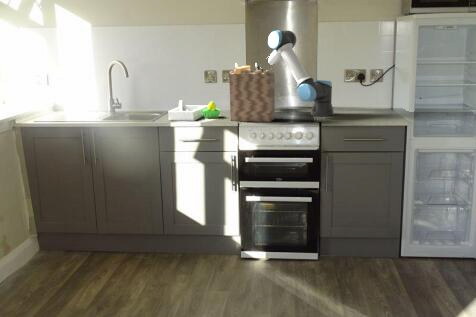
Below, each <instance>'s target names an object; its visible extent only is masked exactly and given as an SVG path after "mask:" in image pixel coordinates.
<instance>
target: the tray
mask: <svg viewBox="0 0 476 317" xmlns="http://www.w3.org/2000/svg"><path fill="white" fill-rule="evenodd" d="M185 105H186V104H185ZM182 107H183V106H182ZM186 108H187V109H188V110H189V111H184V109H183V111H180V110H179V107H176V108H173V109H171V110H168V111H167V112H168V114H167V115H168V121H175V122H176V121H179V122H181V121H182V122H183V121H185V122H194V121H196V120H197V121H198V119H201V118H204V115H203V112H202V110H206V109H208V105H188V104H187V105H186Z"/></svg>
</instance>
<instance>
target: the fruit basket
mask: <svg viewBox="0 0 476 317" xmlns="http://www.w3.org/2000/svg"><path fill="white" fill-rule="evenodd" d="M202 112H203V115H204V116H203V118H204V119H214V118H215V119H217V118H219V116H220V112H221V110H220V109H219V108H217V105H216V103H215V101H213V100H212V101H210V102H209V103H208V105H207V109H206V110H202Z"/></svg>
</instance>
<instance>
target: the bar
mask: <svg viewBox="0 0 476 317" xmlns="http://www.w3.org/2000/svg"><path fill="white" fill-rule="evenodd" d="M238 67H239V66H238ZM234 68H235V67H234ZM245 70H249V71H250V70H251V65H243V66H240V67H239V68H235V74H242V71H245Z"/></svg>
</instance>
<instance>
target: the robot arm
mask: <svg viewBox="0 0 476 317" xmlns="http://www.w3.org/2000/svg"><path fill="white" fill-rule="evenodd" d="M296 44H297V36H296V34H295V33H294V32H293V31H291V30H273V31H271V33H270V34H269V35H268V40H267V45H268V47H269V48H271V49H273V51H272V52H271V53H270V54H269V55H270V56H269V55H268V57H269V58H268V57H267V58H268V63H269V64H270V65H273V64H275V63H276V64H278V63H279V61H280V60H281V59H283V61H284V63H285V65H286V66H287V68H288V70H289V71H290V73H291V75H292V76H293V78H294V79H295V82H296V83H297V86H296V88H297V90H296V91H297V96H298V98H299V100H300V101H302V102H304V103H305V102H306V103H311V102H313V105H312V108H311V111H310V114H311V116H315V117H331V116H334V115H335V111H334V108H333V104H332V97H333V94H332V93H333V92H332V90H333V85H332V81H331V80H322V79H321V80H319V79H315V80H314V78H313V77H312V76H309V73H307V71H306V69H305V67H304V66H303V64H302V62H301V61H300V59H299V58H298V55H297V54H296V51H294V49H293V48H294V47H295V46H296ZM276 64H275V65H276ZM259 66H260V65H258V63H257V62H255V66H254V67H255V69H256V70H255V71H258V70H262V72H263V68H261V67H259ZM235 68H239V65H238V63H237V62H235V64H234V69H233V72H234V71H235ZM251 70H252V69H250V71H249V72H255V71H251Z"/></svg>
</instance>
